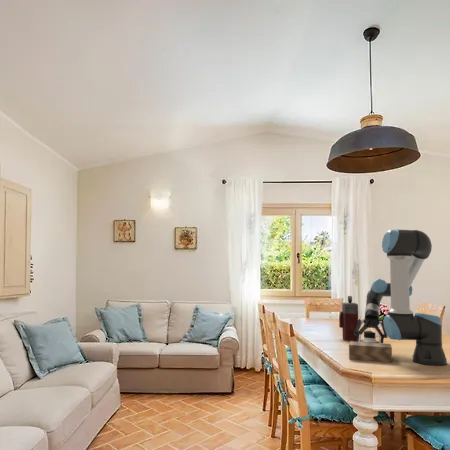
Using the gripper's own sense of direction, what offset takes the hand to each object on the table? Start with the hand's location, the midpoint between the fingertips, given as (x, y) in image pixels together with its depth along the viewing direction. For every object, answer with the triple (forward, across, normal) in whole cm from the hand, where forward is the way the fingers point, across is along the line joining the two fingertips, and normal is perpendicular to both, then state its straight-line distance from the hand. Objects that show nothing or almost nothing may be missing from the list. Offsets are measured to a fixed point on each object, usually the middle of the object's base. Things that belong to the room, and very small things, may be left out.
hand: (369, 346), depth 227 cm
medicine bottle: (+1, 0, -6) cm, 6 cm away
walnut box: (+10, -1, +4) cm, 10 cm away
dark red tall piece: (-32, +19, -39) cm, 54 cm away
